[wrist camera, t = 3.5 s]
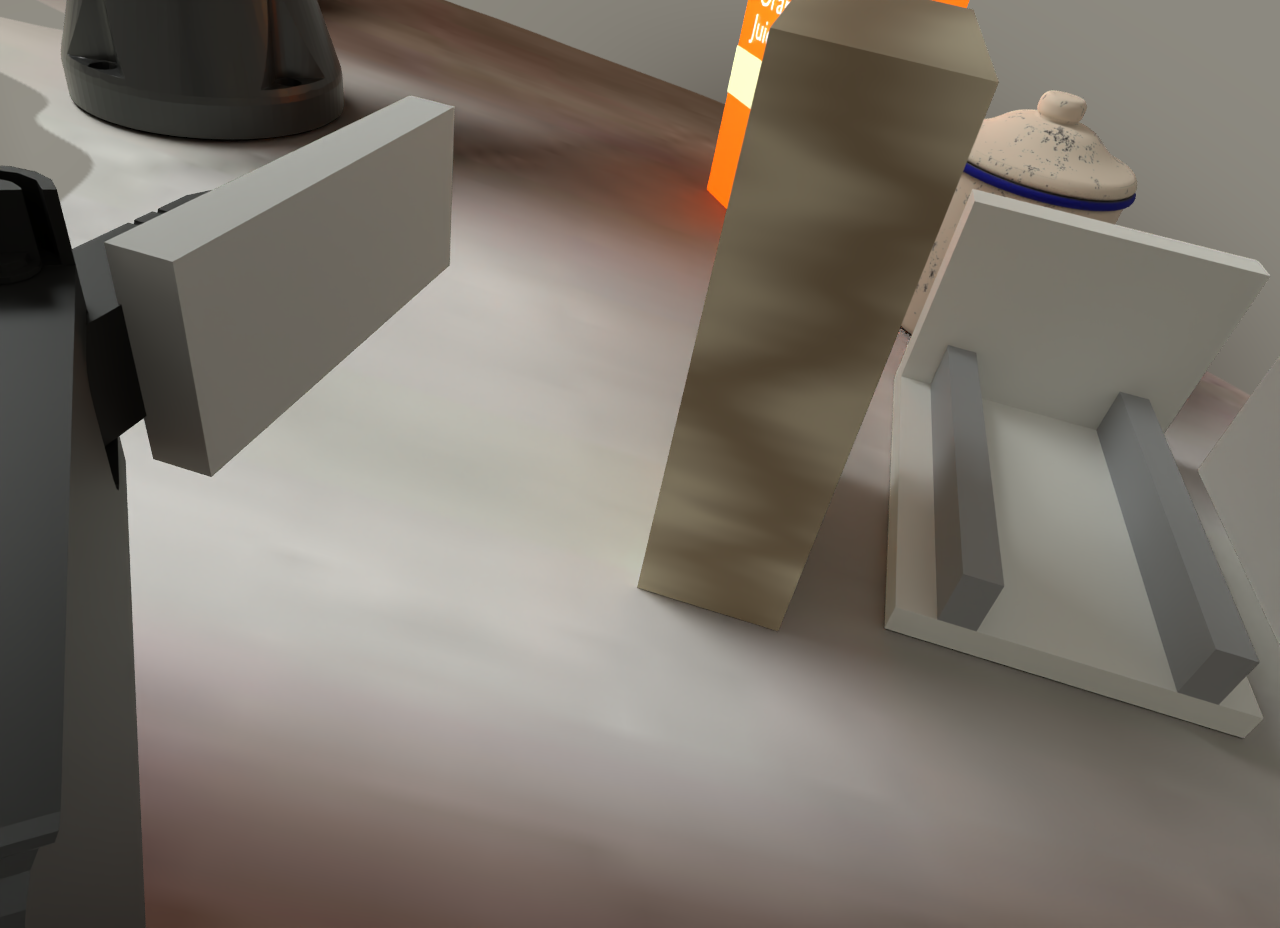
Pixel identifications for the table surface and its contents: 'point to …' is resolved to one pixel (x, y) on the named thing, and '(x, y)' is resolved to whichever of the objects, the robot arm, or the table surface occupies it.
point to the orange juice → (747, 91)
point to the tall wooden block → (811, 286)
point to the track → (1067, 461)
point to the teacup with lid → (1035, 174)
